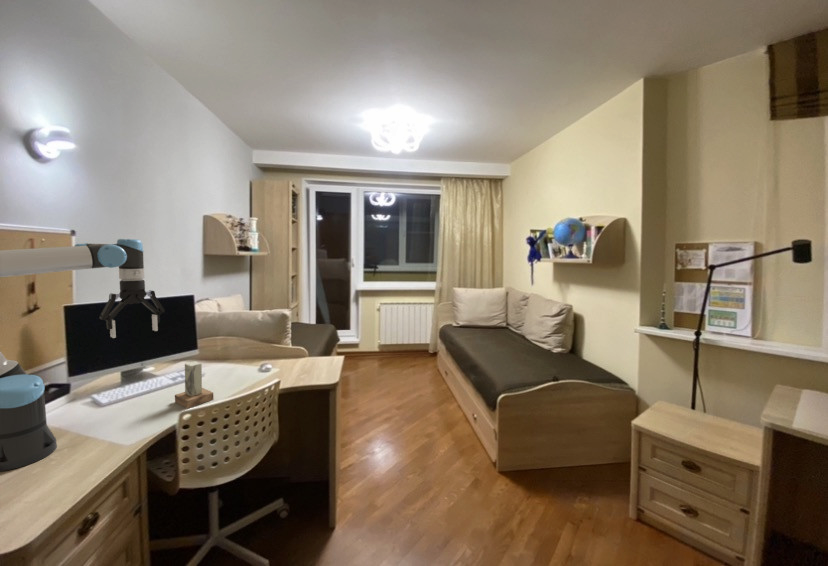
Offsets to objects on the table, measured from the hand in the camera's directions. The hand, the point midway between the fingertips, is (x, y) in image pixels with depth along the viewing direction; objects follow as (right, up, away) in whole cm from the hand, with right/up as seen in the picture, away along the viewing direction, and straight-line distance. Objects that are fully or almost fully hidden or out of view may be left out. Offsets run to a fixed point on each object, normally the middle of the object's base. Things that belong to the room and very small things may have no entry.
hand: (135, 333), depth 136 cm
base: (+18, -29, +7) cm, 35 cm away
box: (+18, -26, +7) cm, 33 cm away
